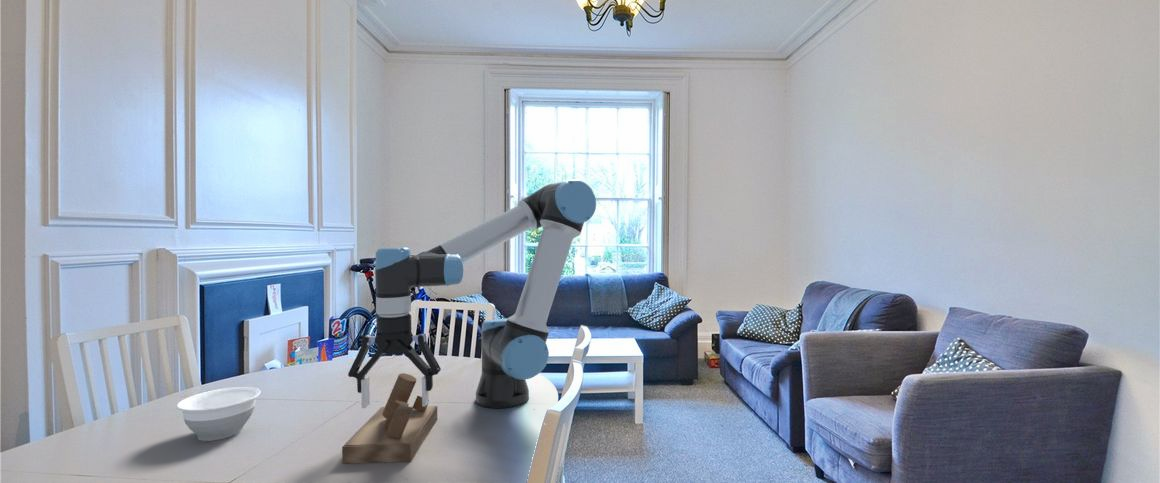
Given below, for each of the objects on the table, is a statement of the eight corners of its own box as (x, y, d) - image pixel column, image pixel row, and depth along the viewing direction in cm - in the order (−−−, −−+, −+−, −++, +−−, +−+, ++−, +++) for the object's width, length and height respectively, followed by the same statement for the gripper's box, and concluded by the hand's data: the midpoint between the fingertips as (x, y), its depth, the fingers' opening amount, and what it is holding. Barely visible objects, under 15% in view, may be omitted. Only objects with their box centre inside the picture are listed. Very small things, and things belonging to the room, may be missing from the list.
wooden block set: (403, 449, 100) (422, 406, 100) (365, 435, 99) (383, 391, 99) (424, 413, 118) (439, 376, 118) (391, 401, 117) (407, 364, 117)
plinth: (437, 419, 120) (437, 405, 119) (410, 461, 98) (410, 444, 98) (381, 420, 119) (381, 406, 119) (342, 463, 97) (342, 446, 97)
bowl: (276, 424, 117) (276, 390, 117) (207, 452, 102) (207, 413, 102) (232, 416, 122) (231, 383, 122) (160, 442, 107) (159, 405, 107)
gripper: (452, 310, 112) (453, 397, 113) (345, 312, 111) (347, 400, 111) (444, 316, 105) (446, 409, 105) (330, 318, 103) (332, 413, 104)
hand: (395, 405), depth 108 cm, fingers open, 13 cm apart
